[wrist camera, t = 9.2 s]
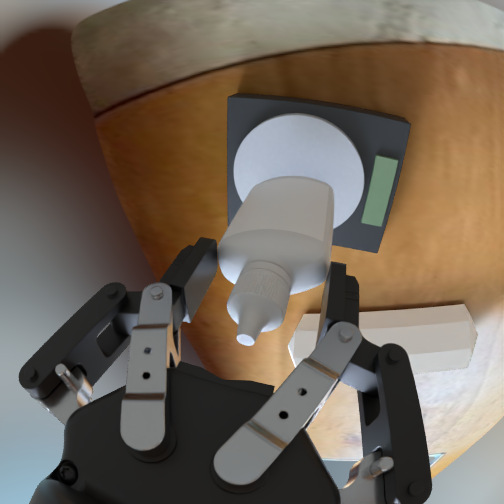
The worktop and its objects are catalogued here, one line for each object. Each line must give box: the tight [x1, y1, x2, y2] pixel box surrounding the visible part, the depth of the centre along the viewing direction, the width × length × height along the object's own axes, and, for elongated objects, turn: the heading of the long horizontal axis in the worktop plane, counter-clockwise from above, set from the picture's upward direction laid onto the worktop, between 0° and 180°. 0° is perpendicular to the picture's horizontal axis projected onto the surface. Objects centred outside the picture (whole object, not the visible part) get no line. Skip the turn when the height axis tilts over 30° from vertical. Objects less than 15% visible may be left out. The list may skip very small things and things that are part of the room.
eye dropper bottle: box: [217, 176, 334, 346], centre depth 16 cm, size 4×6×12 cm
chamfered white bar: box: [288, 304, 478, 374], centre depth 32 cm, size 7×7×24 cm
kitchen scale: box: [227, 93, 411, 253], centre depth 24 cm, size 12×14×3 cm
